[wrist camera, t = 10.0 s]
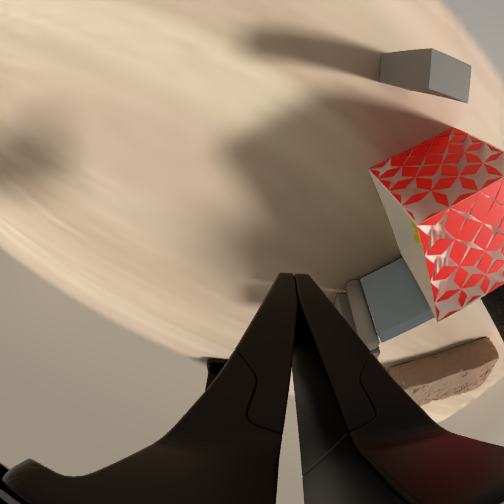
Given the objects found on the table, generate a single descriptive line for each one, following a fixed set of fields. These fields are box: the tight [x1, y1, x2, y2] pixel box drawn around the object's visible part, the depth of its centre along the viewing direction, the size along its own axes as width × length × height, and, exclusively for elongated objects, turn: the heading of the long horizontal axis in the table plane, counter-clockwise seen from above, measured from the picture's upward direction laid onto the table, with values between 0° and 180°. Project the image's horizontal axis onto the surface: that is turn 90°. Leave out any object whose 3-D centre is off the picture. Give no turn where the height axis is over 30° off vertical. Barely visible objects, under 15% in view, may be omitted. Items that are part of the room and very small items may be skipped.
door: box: [345, 257, 435, 350], centre depth 18 cm, size 3×16×6 cm, turn 124°
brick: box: [388, 338, 499, 406], centre depth 30 cm, size 17×8×5 cm, turn 104°
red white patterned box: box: [368, 128, 504, 322], centre depth 15 cm, size 8×8×8 cm
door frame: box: [334, 48, 471, 358], centre depth 17 cm, size 2×21×6 cm, turn 178°
